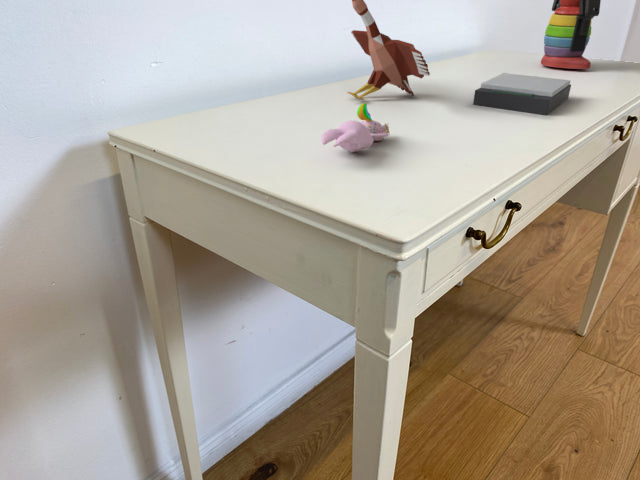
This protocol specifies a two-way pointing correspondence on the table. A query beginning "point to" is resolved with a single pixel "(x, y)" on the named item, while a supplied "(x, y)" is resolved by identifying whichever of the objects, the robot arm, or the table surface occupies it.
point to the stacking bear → (564, 38)
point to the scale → (523, 93)
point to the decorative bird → (386, 56)
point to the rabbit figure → (357, 132)
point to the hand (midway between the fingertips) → (566, 48)
